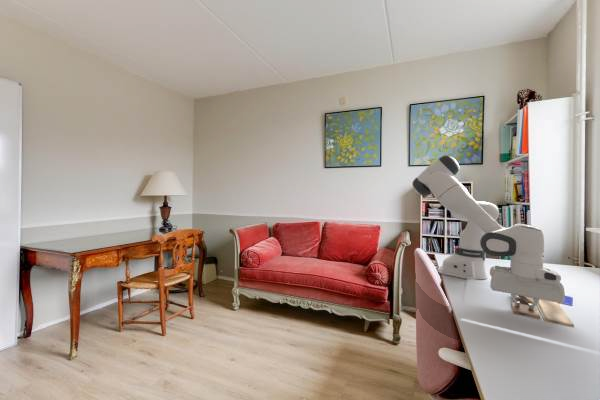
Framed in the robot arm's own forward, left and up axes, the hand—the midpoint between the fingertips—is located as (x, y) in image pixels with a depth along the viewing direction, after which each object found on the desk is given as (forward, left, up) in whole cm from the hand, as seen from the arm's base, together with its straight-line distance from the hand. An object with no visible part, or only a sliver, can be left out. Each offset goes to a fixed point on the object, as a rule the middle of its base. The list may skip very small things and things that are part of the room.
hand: (523, 308), depth 95 cm
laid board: (+8, +6, -2) cm, 10 cm away
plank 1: (+1, +12, +1) cm, 12 cm away
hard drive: (+13, +24, -3) cm, 27 cm away
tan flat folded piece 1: (0, 0, -1) cm, 1 cm away
